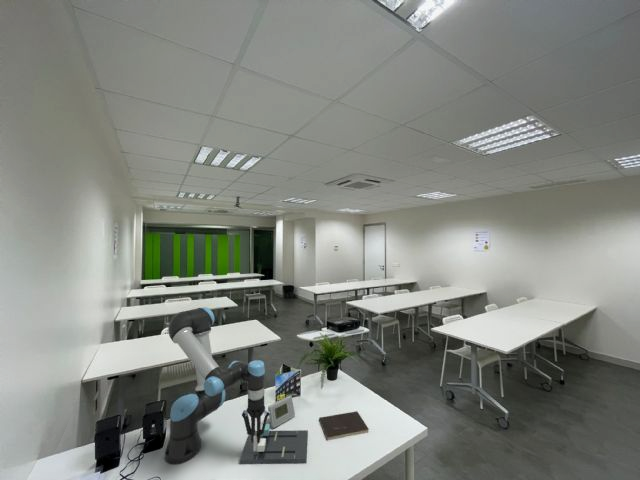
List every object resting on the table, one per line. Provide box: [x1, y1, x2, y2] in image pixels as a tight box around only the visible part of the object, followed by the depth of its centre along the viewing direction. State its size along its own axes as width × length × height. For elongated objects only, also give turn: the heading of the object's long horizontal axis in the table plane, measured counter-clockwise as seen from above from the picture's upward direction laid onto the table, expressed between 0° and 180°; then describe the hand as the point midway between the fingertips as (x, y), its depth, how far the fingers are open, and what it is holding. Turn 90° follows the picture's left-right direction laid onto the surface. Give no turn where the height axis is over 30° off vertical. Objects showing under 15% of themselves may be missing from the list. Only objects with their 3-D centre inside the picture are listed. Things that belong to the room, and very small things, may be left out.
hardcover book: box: [318, 410, 370, 441], centre depth 136 cm, size 16×23×2 cm
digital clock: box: [267, 395, 296, 429], centre depth 141 cm, size 16×9×11 cm, turn 123°
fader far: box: [262, 423, 271, 436], centre depth 126 cm, size 3×4×4 cm
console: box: [238, 429, 309, 465], centre depth 121 cm, size 30×18×2 cm, turn 91°
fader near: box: [257, 438, 266, 452], centre depth 116 cm, size 3×4×4 cm
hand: (255, 448), depth 116 cm, fingers closed
